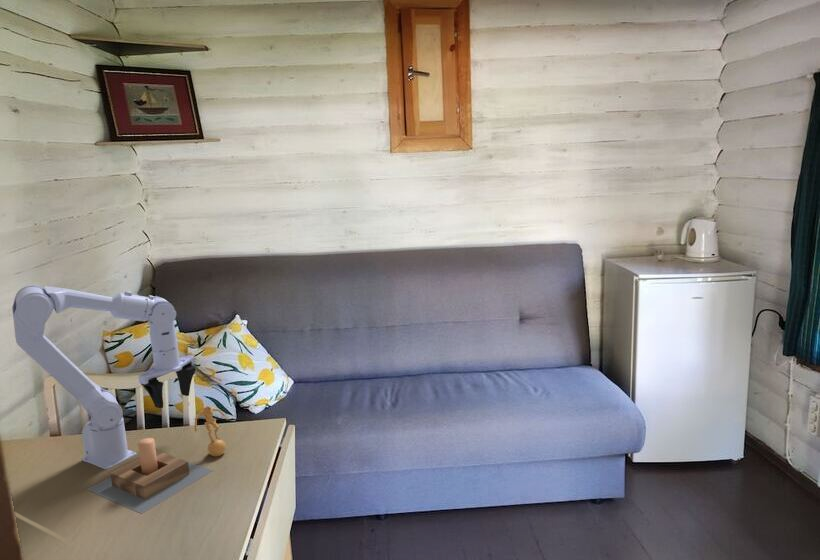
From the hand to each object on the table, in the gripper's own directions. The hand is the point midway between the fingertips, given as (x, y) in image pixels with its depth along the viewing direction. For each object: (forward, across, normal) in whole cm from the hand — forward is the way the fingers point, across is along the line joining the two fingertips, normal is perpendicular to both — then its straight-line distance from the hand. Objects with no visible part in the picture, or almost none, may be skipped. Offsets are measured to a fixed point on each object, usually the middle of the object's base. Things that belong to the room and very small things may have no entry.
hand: (172, 401), depth 145 cm
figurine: (+11, -1, -14) cm, 17 cm away
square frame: (+10, -16, -11) cm, 21 cm away
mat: (+10, -16, -11) cm, 21 cm away
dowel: (+10, -16, -11) cm, 21 cm away
